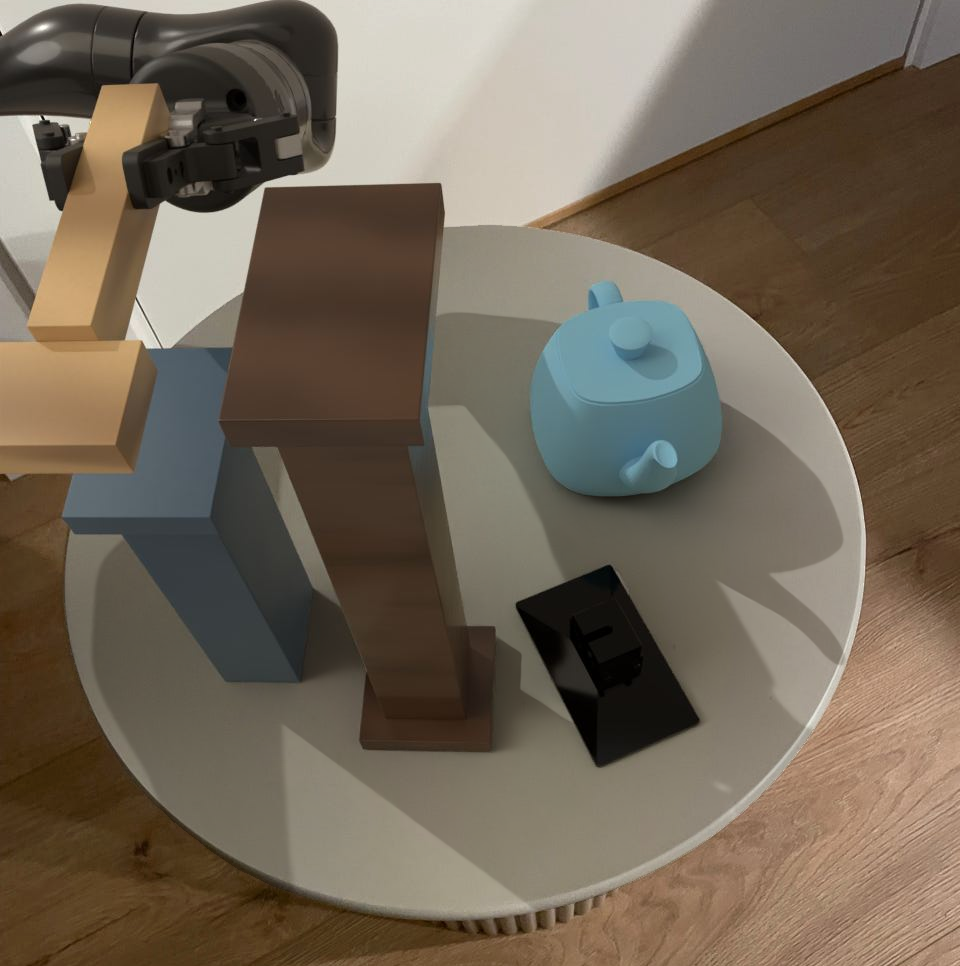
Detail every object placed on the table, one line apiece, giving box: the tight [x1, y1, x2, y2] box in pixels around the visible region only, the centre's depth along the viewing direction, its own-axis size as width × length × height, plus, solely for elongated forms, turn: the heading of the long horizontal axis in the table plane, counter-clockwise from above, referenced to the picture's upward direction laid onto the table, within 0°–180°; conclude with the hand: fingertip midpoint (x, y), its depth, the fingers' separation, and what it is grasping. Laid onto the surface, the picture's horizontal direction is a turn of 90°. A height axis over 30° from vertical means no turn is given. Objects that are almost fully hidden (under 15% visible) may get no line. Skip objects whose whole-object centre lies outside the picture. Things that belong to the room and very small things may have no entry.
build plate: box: [514, 564, 700, 768], centre depth 63 cm, size 12×7×5 cm, turn 23°
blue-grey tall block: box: [61, 346, 314, 683], centre depth 58 cm, size 10×7×22 cm
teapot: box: [529, 280, 723, 497], centre depth 68 cm, size 13×11×18 cm
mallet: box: [0, 83, 170, 475], centre depth 42 cm, size 19×6×3 cm, turn 177°
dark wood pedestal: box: [218, 182, 497, 753], centre depth 52 cm, size 12×8×32 cm
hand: (96, 183), depth 42 cm, fingers closed on mallet, 2 cm apart
